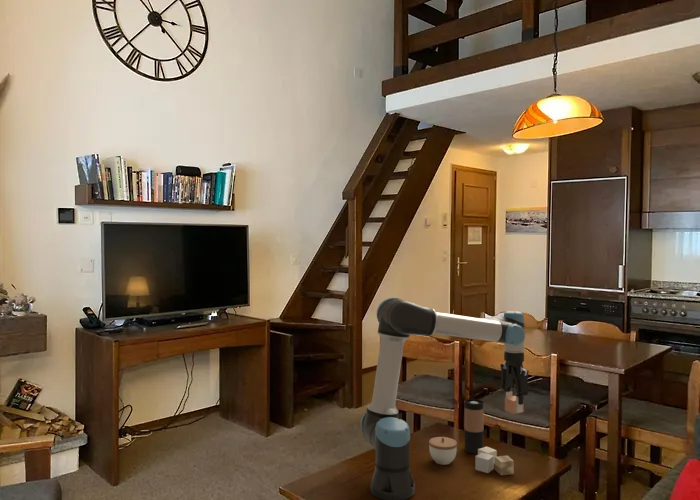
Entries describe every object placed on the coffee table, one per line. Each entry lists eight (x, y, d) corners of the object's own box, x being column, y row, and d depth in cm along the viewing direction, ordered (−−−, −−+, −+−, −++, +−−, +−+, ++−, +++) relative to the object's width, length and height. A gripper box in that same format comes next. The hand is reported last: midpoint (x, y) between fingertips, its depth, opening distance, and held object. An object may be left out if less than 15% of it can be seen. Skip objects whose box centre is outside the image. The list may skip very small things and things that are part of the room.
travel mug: (460, 448, 225) (460, 400, 225) (475, 445, 229) (475, 397, 228) (471, 455, 218) (472, 405, 218) (487, 451, 222) (487, 402, 221)
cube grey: (487, 473, 202) (487, 459, 202) (475, 469, 205) (475, 456, 205) (493, 468, 205) (493, 455, 205) (481, 465, 209) (481, 452, 209)
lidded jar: (455, 456, 217) (455, 433, 217) (458, 467, 206) (458, 443, 206) (428, 455, 218) (428, 432, 218) (429, 466, 207) (429, 442, 207)
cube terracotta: (513, 413, 211) (513, 401, 211) (504, 410, 216) (504, 397, 216) (523, 412, 213) (523, 399, 213) (514, 408, 218) (514, 396, 218)
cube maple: (500, 475, 200) (501, 461, 200) (494, 469, 205) (494, 456, 205) (513, 474, 201) (513, 460, 201) (507, 468, 206) (507, 455, 206)
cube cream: (488, 466, 208) (488, 453, 208) (477, 462, 212) (477, 449, 212) (496, 463, 211) (496, 450, 211) (486, 459, 215) (486, 446, 215)
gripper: (538, 354, 207) (538, 415, 208) (505, 346, 224) (505, 402, 224) (523, 356, 204) (522, 418, 205) (491, 347, 221) (491, 405, 221)
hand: (514, 410), depth 214 cm, fingers closed on cube terracotta, 5 cm apart
